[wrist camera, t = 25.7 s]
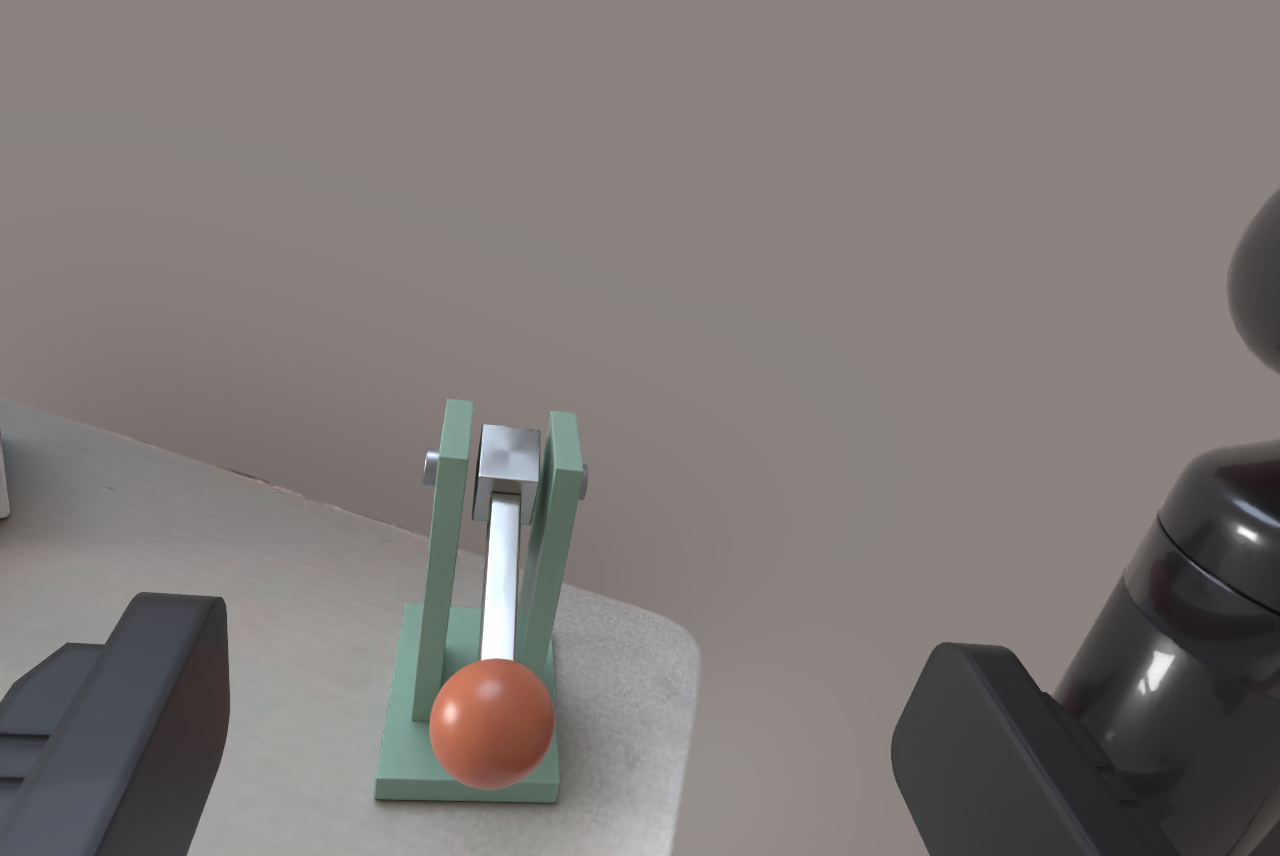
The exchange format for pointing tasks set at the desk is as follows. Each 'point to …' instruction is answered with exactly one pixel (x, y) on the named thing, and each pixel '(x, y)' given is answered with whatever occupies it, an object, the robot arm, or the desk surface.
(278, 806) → the desk surface
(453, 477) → the switch bracket
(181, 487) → the desk surface
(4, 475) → the ink box
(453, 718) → the switch lever
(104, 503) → the desk surface
